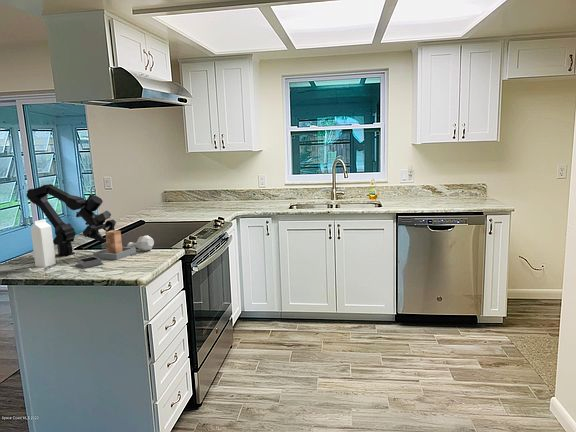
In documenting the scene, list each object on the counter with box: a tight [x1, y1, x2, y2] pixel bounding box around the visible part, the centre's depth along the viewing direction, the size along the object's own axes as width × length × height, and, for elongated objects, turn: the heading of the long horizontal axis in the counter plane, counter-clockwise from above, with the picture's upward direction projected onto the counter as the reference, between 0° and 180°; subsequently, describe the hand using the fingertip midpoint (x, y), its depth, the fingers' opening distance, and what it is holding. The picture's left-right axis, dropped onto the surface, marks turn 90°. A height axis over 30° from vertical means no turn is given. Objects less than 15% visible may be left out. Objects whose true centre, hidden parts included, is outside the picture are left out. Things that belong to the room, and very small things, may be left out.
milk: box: [30, 218, 57, 268], centre depth 200 cm, size 6×6×22 cm
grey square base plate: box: [74, 256, 105, 270], centre depth 199 cm, size 10×10×3 cm
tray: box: [92, 246, 137, 261], centre depth 215 cm, size 14×14×4 cm
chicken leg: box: [126, 234, 155, 252], centre depth 229 cm, size 8×18×8 cm, turn 59°
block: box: [104, 229, 123, 254], centre depth 214 cm, size 5×5×12 cm
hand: (111, 240), depth 214 cm, fingers open, 9 cm apart
